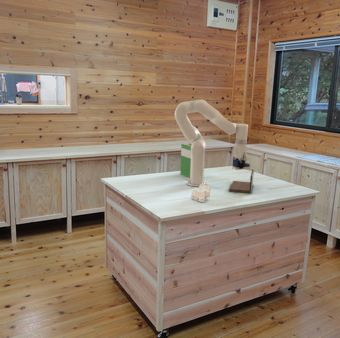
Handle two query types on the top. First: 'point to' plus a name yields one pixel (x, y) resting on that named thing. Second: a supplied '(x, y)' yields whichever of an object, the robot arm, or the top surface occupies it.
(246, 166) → the trainer
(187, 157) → the hardback book
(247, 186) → the brown desk organizer
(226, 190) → the top surface
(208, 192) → the cream knobbly stepped block
